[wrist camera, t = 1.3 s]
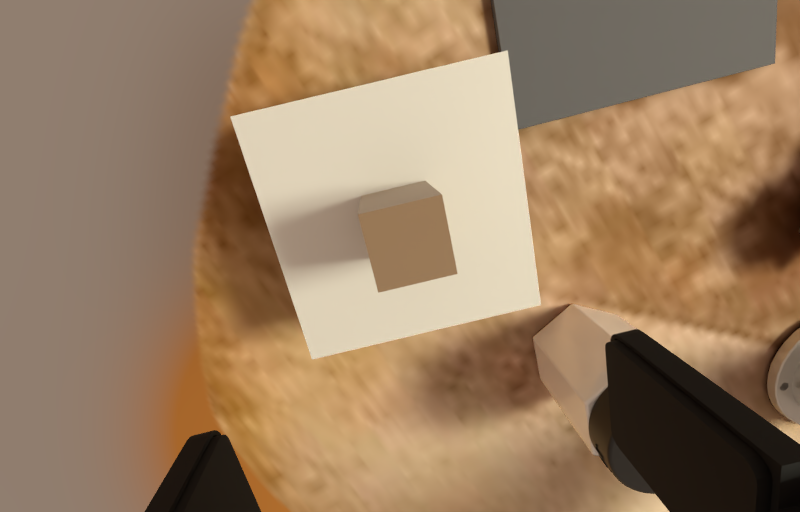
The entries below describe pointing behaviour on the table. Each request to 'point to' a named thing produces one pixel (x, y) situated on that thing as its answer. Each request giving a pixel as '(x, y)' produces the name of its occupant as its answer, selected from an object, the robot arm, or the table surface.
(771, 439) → the robot arm
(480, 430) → the table surface
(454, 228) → the lid
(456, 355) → the table surface
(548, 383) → the jar
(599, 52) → the mat
